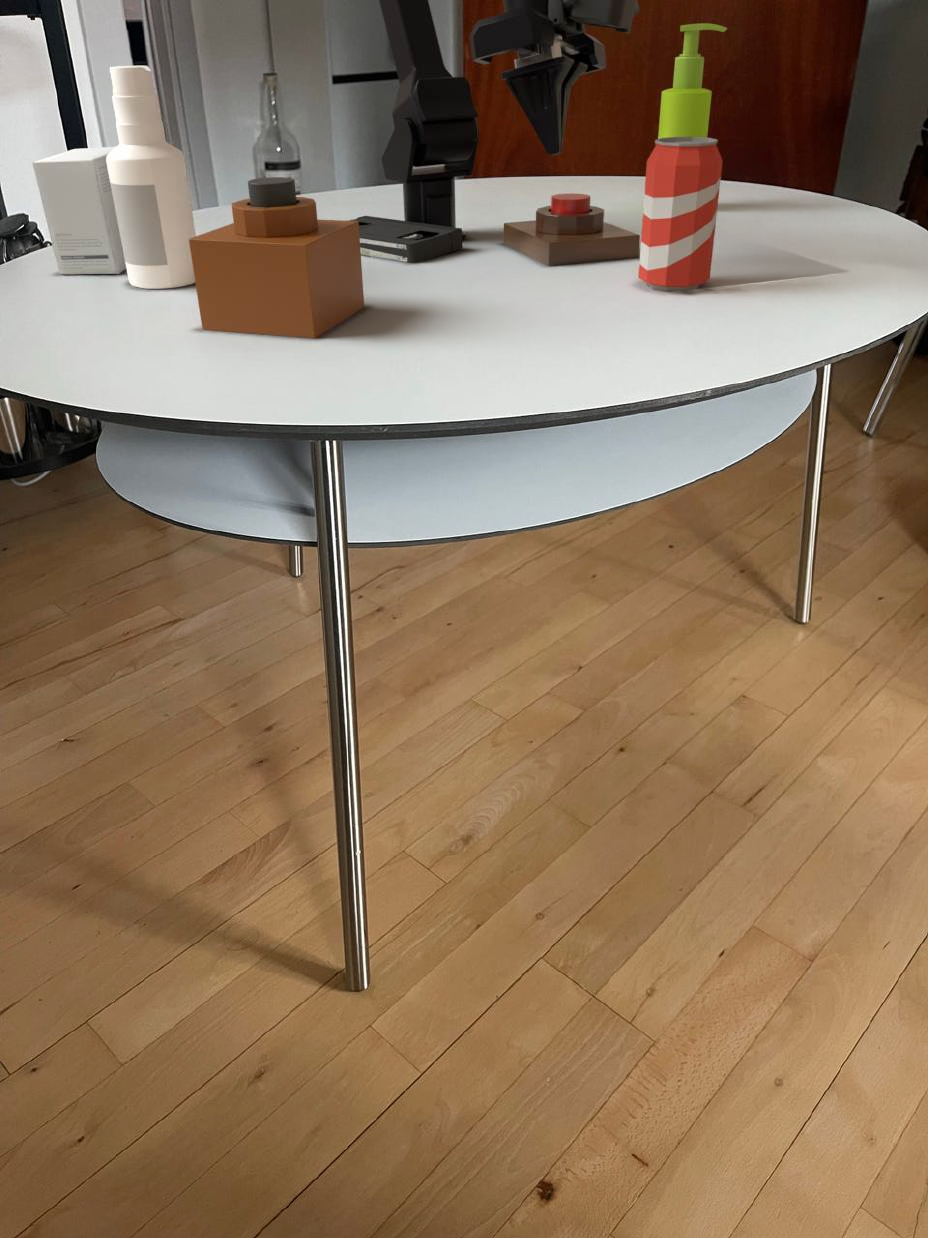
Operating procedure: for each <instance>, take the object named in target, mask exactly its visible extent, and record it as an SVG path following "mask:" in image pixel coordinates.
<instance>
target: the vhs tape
mask: <svg viewBox="0 0 928 1238" xmlns="http://www.w3.org/2000/svg"><path fill="white" fill-rule="evenodd" d="M348 221H358V222H359V235H360V250H361V257H362V256H363V257H367V258H376V259H377V258H378V259H383V260H388V261H395V262H401V263H405V264H416V263H420V262H422V261H428V260H430V259H433V258H436V257H439V256H442V255H445V254H449V253H451V252H455V251H457V250H461V249H463V248H464V247H463V239H462V232H463V228H461V227H456V228H454V227H447V226H439V225H432V224H424V223H417V222H409V221H405V220H402V219H401V220H400V219H395V218H394V219H393V218H387V217H379V216H371V215H363V216H358V217H357V218H354V219H348Z"/></svg>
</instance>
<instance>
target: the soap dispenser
mask: <svg viewBox="0 0 928 1238" xmlns="http://www.w3.org/2000/svg"><path fill="white" fill-rule="evenodd" d="M679 27H680V29H679V31H680V33H681V32H684V38H683V48H682V53H680V54H679V56H676V57H674V67H673V68H674V69H673V82H672V87H671V88H667V89H664V90H662V91H661V97H660V111H659V123H658V136H657V139H659V138H669V137H704V138H708V133H709V122H710V112H711V103H712V94H713V92H712V90H710V89H708V88H703V78H704V77H703V76H704V66H705V65H704V64H705V57H704V56H702V55H701V53H698V52H699V42H700V31H716V32H721V33H725V32H726V31H727V30H728V27H726V26H723V25H720V24H714V23H706V22H705V23H704V22H703V23H701V22H700V23H690V24H683V25H680V26H679Z"/></svg>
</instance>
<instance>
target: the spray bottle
mask: <svg viewBox="0 0 928 1238" xmlns="http://www.w3.org/2000/svg"><path fill="white" fill-rule="evenodd" d="M109 73H110V77H111V78H110V79H111V84H112V95H111V100H112V105H113V110H114V116H115V127H116V132H117V137H118V144H117V146H114V147H115V148H114V149H113V150H112V151H111V152H110V153H109V154H108V155H107V157H106V163H107V168H108V173H109V179H110V184H111V189H112V195H113V200H114V205H115V210H116V216H117V221H118V226H119V232H120V237H121V242H122V248H123V253H124V258H125V263H126V269H125V270H126V274H127V279H128V282H129V283H130V285H131V286H133V287H136V288H140V289H146V290H147V289H148V290H165V289H166V290H167V289H177V288H181V287H186V286H191V285H192V284H195V277H194V270H193V264H192V257H191V251H190V244H189V239H190V238H193V237H196V236H197V235H196V227H195V220H194V214H193V209H192V201H191V195H190V187H189V182H188V174H187V168H186V161H185V155H184V152H182V151H181V150H180V149H179V148H178V147H176V146H174V145H172V144H170V143H169V142H167V140H166V134H165V127H164V121H163V120H162V115H161V108H160V101H159V95H158V93H156V88H155V87H154V82H153V81H154V80H153V74H152V70H151V68H150V67H149V66H148V65H119V66H118V65H117V66H109Z"/></svg>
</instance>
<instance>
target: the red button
mask: <svg viewBox="0 0 928 1238" xmlns="http://www.w3.org/2000/svg"><path fill="white" fill-rule="evenodd" d="M550 206H551V212H552V213H558V214H582V213H589V212H590V206H591V195H589V194H585V193H574V192H573V193H572V192H571V193H569V192H568V193H558V194H557V193H556V194H553V195H551V196H550Z"/></svg>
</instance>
